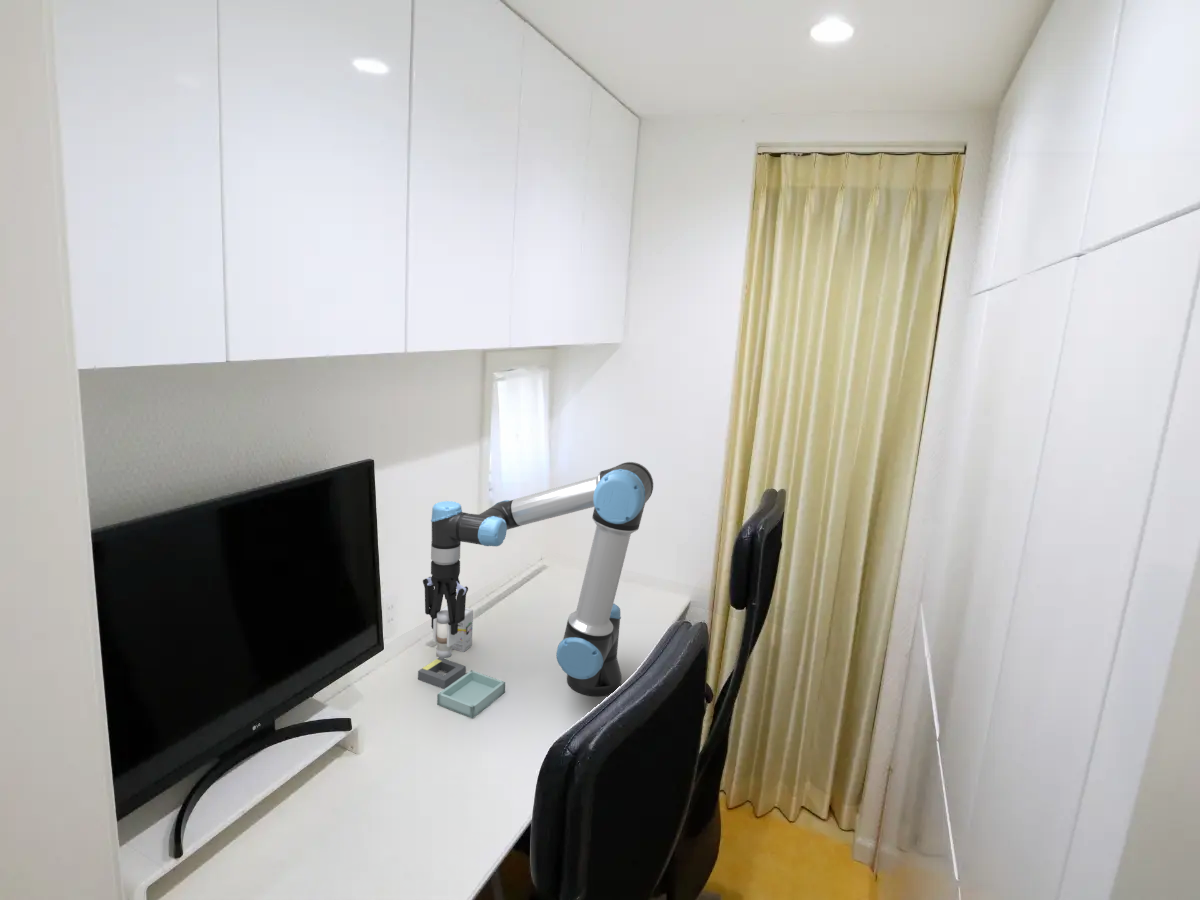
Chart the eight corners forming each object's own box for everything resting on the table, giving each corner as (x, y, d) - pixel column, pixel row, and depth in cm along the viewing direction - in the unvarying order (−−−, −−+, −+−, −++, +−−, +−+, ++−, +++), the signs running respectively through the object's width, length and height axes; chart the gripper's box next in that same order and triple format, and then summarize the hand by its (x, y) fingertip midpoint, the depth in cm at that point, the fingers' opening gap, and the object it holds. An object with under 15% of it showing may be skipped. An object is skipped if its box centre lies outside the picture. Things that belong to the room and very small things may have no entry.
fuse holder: (465, 674, 183) (465, 665, 182) (444, 689, 175) (444, 680, 174) (439, 665, 187) (440, 656, 186) (417, 679, 179) (418, 670, 178)
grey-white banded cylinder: (454, 653, 180) (455, 612, 178) (445, 659, 177) (445, 617, 174) (442, 649, 182) (443, 609, 180) (433, 655, 178) (433, 614, 176)
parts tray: (504, 692, 175) (505, 681, 175) (472, 718, 163) (472, 707, 162) (471, 680, 180) (471, 670, 180) (437, 704, 168) (437, 693, 167)
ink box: (438, 646, 197) (439, 609, 195) (447, 639, 202) (448, 603, 200) (464, 652, 195) (465, 615, 192) (472, 645, 199) (473, 608, 197)
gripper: (480, 562, 174) (478, 645, 178) (429, 549, 181) (428, 629, 186) (462, 571, 167) (460, 656, 172) (410, 557, 175) (410, 639, 179)
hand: (444, 642), depth 179 cm, fingers closed on grey-white banded cylinder, 4 cm apart
